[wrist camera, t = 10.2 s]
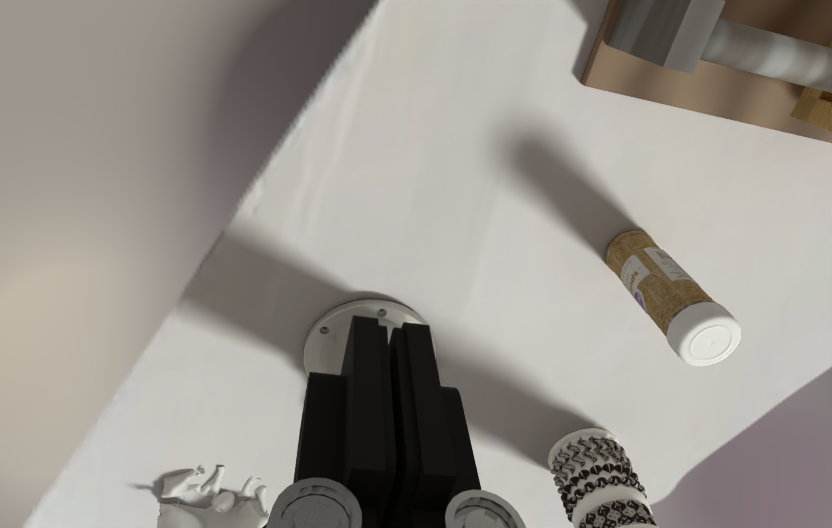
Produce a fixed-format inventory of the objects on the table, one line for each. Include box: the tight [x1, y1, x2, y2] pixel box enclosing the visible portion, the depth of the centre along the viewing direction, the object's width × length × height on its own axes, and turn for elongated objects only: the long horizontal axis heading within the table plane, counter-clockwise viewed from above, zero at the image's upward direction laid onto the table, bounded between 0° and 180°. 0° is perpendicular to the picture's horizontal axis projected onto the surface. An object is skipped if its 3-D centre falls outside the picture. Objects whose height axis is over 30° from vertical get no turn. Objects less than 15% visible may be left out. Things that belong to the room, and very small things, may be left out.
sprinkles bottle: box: [606, 231, 741, 366], centre depth 43 cm, size 5×5×14 cm
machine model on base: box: [581, 0, 832, 143], centre depth 37 cm, size 26×10×9 cm, turn 77°
